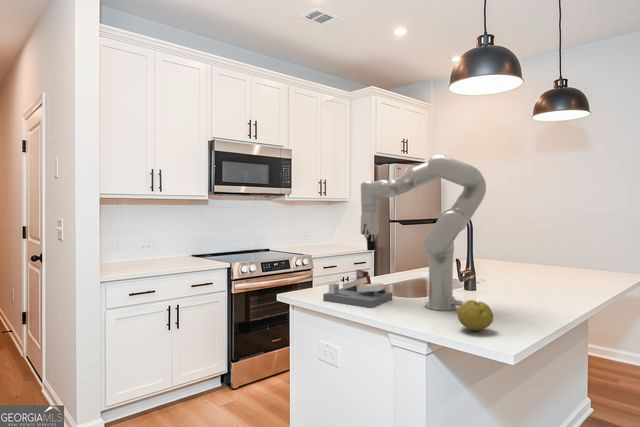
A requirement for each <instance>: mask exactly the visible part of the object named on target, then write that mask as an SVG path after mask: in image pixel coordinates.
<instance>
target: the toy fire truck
mask: <svg viewBox="0 0 640 427" xmlns="http://www.w3.org/2000/svg"><path fill="white" fill-rule="evenodd" d="M355 274H356V279H360V278H364V277H366V278H367V283H364V284H372V281H371V277H370V275H369V271H367V270H362V269H356V271H355ZM356 279H355V280H356Z"/></svg>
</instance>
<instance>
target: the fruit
mask: <svg viewBox="0 0 640 427" xmlns="http://www.w3.org/2000/svg"><path fill="white" fill-rule="evenodd" d="M456 312H457V319H458V321H459V323H460V324H461V325H462V326H463V327H465V328H466V329H468V330H470V331H471V332H481V331H484V330H485V329H487V328H489V327H490V325H492V323H493V321H494V313H493V311H492V309H491V307H490V306H489V305H488V304H487V303H485V302H483V301H476V300H473V299H471V300H468V301H466V302H463V304H462V305H461V306H459V307H458V308H457V311H456Z"/></svg>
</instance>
